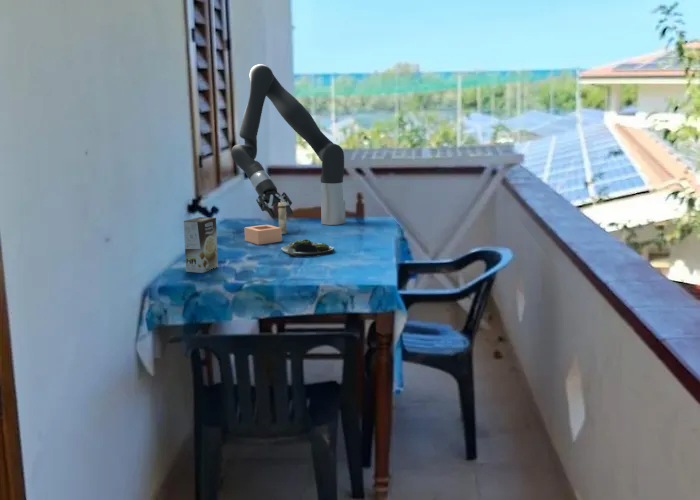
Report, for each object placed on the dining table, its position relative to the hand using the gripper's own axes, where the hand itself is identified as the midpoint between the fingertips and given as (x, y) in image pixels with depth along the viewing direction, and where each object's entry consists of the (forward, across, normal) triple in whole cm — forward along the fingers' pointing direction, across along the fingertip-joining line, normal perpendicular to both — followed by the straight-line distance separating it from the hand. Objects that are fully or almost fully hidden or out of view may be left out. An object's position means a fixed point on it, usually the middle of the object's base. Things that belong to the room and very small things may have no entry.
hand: (283, 216), depth 307 cm
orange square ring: (+9, -15, +1) cm, 18 cm away
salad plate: (+28, -18, -18) cm, 38 cm away
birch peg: (+4, 0, +5) cm, 7 cm away
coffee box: (+25, -59, -14) cm, 65 cm away
